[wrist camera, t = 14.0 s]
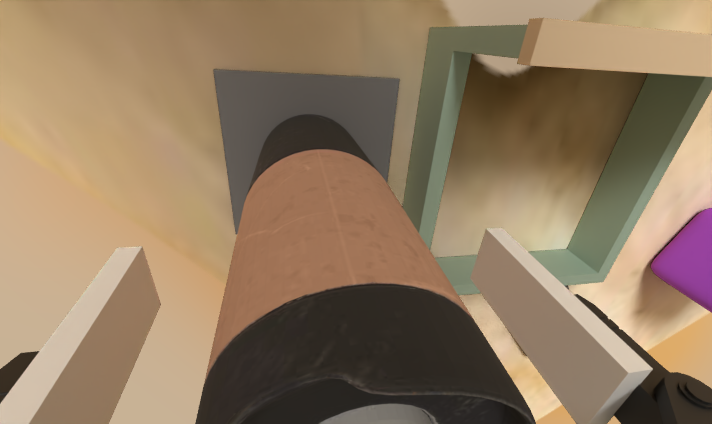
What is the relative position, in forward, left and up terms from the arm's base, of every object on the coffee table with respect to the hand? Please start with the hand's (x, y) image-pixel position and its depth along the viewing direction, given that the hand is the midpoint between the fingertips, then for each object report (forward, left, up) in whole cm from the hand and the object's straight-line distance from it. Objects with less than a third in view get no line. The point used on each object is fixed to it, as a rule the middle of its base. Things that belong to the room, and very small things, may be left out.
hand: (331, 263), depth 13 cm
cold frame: (+1, +18, -13) cm, 22 cm away
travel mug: (0, 0, -13) cm, 13 cm away
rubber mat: (0, 0, -13) cm, 13 cm away
